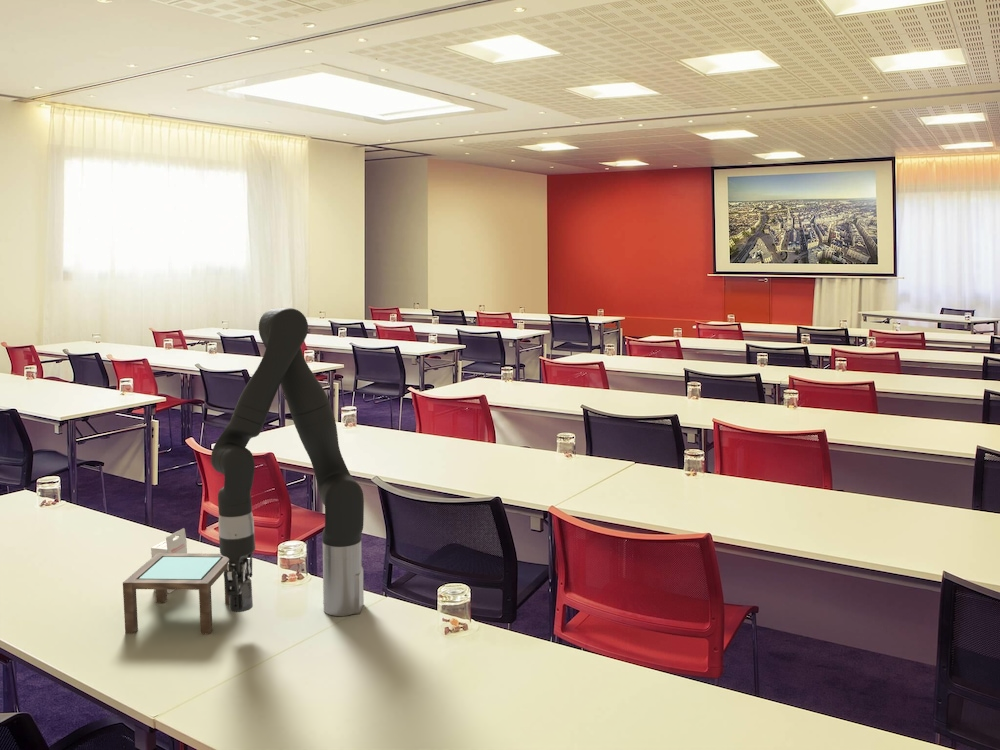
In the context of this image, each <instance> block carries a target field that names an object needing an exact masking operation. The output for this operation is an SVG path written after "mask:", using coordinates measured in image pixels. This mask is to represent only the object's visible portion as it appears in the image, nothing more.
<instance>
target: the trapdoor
mask: <svg viewBox="0 0 1000 750" xmlns="http://www.w3.org/2000/svg"><path fill="white" fill-rule="evenodd" d="M220 560H221V557H163V558H162V559H160V560H159V561H158V562H157V563H156V564H155V565H154V566H152V567H151V568H150V569H149V570H148V571H147V572H146V573H144V574H143V575H142V576H141V577H140V578H139V579H154V580H202V579H203V578H204V577H205V576H206V575H207V574H208V573H209V572H210V571H211V570H212V569H213V568H214V566H215V565H216V564H217V563H218V562H219V561H220Z"/></svg>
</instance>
